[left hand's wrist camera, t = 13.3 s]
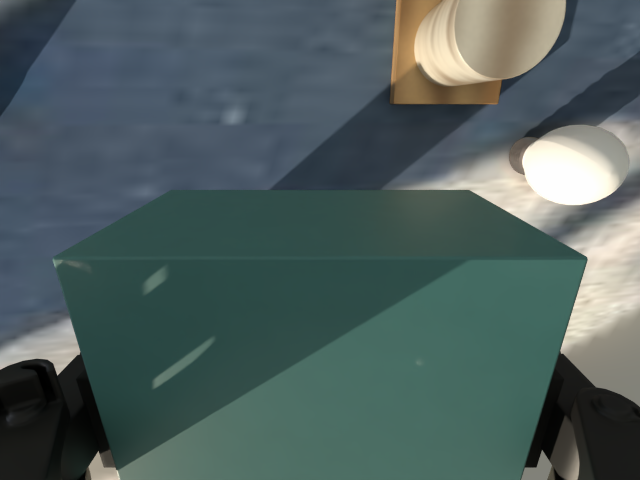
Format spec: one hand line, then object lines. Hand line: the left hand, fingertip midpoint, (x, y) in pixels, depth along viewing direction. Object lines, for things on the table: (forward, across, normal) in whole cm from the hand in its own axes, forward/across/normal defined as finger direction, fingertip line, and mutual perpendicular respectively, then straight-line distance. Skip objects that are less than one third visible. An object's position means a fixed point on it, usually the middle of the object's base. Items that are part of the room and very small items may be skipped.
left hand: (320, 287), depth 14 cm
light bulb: (+25, +22, +2) cm, 34 cm away
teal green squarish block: (-2, 0, 0) cm, 2 cm away
